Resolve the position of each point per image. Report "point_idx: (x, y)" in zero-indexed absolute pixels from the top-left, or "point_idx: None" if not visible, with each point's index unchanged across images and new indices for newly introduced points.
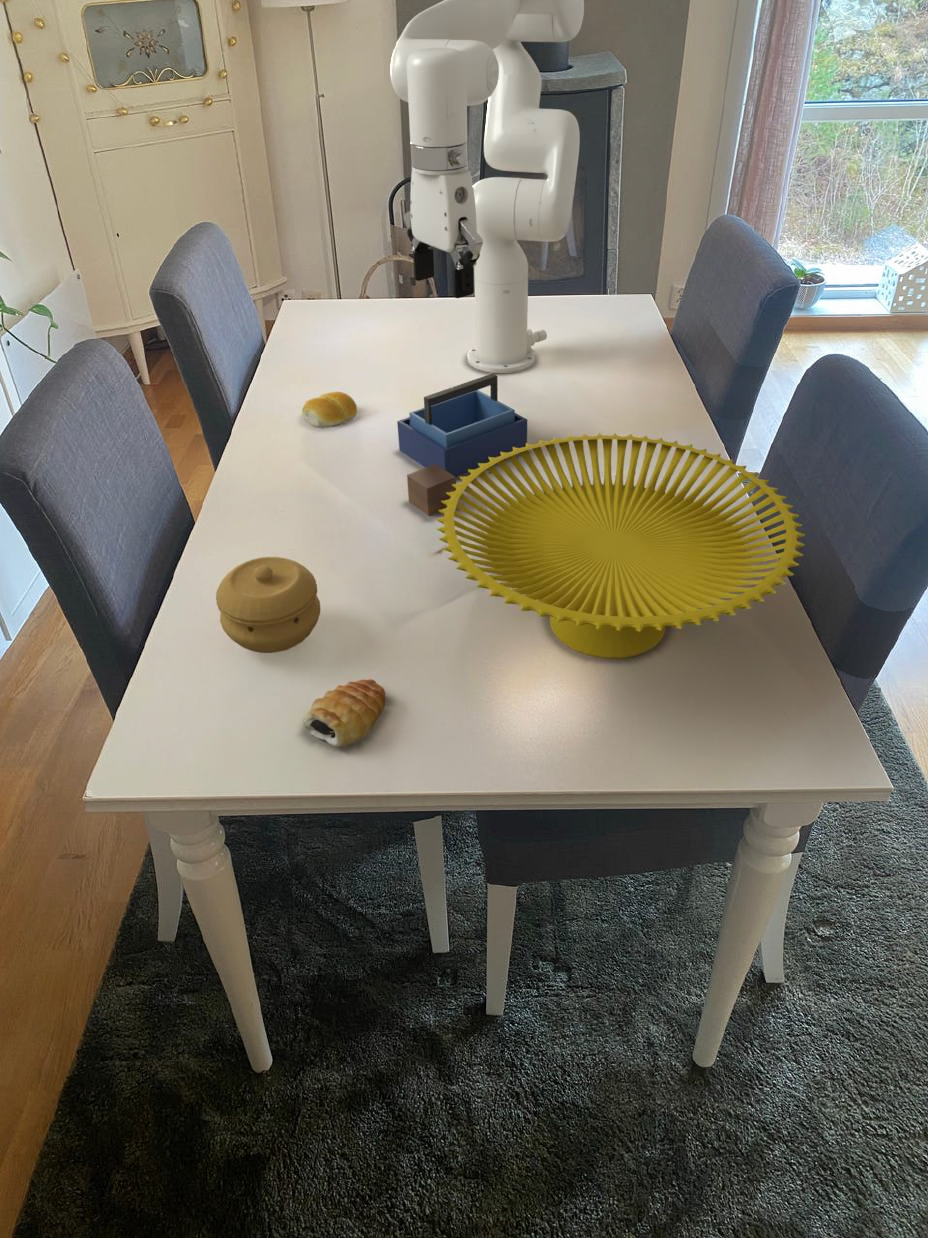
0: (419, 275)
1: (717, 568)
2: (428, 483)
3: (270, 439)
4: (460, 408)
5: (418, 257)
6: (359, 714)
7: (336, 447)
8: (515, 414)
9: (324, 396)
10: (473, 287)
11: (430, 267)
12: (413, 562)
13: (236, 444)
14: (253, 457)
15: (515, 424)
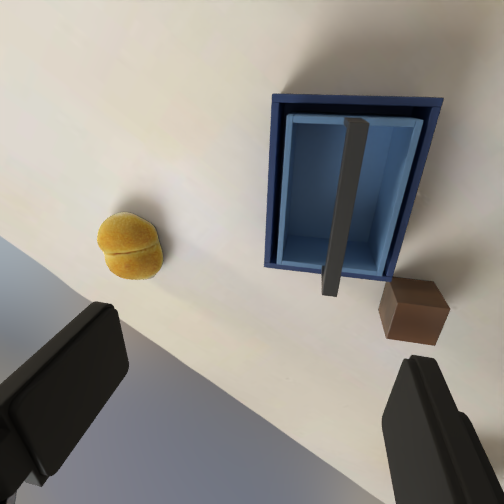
0: (118, 377)
1: None
2: (428, 338)
3: (151, 312)
4: (291, 160)
5: (62, 452)
6: None
7: (208, 281)
8: (406, 103)
9: (110, 251)
10: (443, 380)
11: (91, 350)
12: (464, 370)
13: (144, 335)
14: (177, 340)
15: (433, 133)
